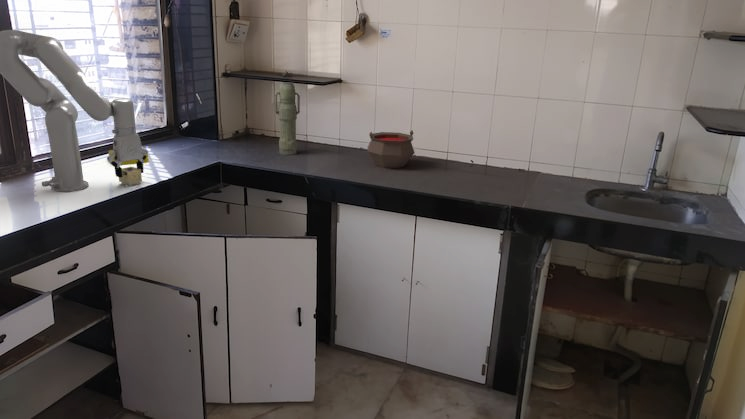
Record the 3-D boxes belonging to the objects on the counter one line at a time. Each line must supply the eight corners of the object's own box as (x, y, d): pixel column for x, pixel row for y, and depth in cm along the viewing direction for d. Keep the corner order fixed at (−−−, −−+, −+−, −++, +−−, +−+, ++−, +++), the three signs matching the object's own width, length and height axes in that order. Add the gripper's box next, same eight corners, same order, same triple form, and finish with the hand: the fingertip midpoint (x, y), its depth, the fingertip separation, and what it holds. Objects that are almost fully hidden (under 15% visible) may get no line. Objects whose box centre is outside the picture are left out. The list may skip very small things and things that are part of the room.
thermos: (301, 154, 281) (301, 83, 270) (277, 155, 278) (276, 83, 267) (298, 151, 289) (298, 81, 278) (275, 151, 286) (274, 81, 275)
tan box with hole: (128, 184, 219) (127, 171, 217) (119, 181, 222) (117, 169, 220) (141, 181, 223) (140, 169, 222) (132, 178, 226) (131, 166, 225)
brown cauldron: (401, 157, 284) (403, 125, 279) (423, 168, 264) (426, 134, 258) (357, 160, 275) (358, 127, 270) (376, 172, 255) (378, 136, 249)
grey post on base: (129, 186, 220) (127, 170, 217) (121, 183, 222) (119, 168, 220) (140, 183, 224) (138, 167, 221) (132, 181, 226) (131, 165, 224)
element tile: (142, 156, 268) (141, 146, 266) (149, 163, 256) (148, 153, 254) (108, 159, 260) (107, 149, 259) (114, 166, 248) (112, 156, 247)
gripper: (110, 135, 207) (115, 180, 213) (151, 129, 221) (155, 172, 227) (98, 132, 211) (103, 177, 217) (139, 127, 225) (143, 168, 230)
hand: (130, 174), depth 222 cm, fingers open, 8 cm apart
